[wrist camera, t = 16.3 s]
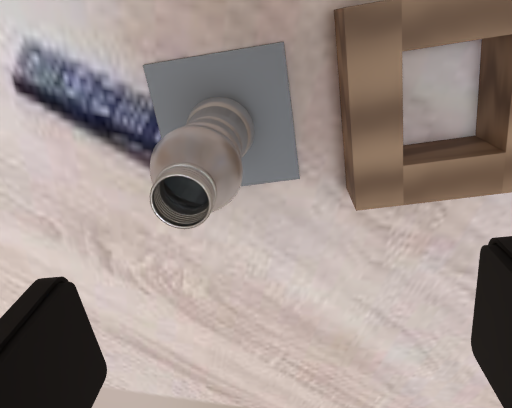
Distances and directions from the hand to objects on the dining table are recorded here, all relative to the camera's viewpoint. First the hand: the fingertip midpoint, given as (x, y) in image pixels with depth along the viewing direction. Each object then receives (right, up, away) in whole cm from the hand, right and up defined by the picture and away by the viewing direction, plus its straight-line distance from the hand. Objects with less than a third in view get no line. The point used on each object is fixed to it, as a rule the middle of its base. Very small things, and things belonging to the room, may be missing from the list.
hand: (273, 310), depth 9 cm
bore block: (+17, +13, +31) cm, 38 cm away
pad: (-4, +11, +33) cm, 35 cm away
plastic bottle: (-4, +11, +33) cm, 34 cm away
